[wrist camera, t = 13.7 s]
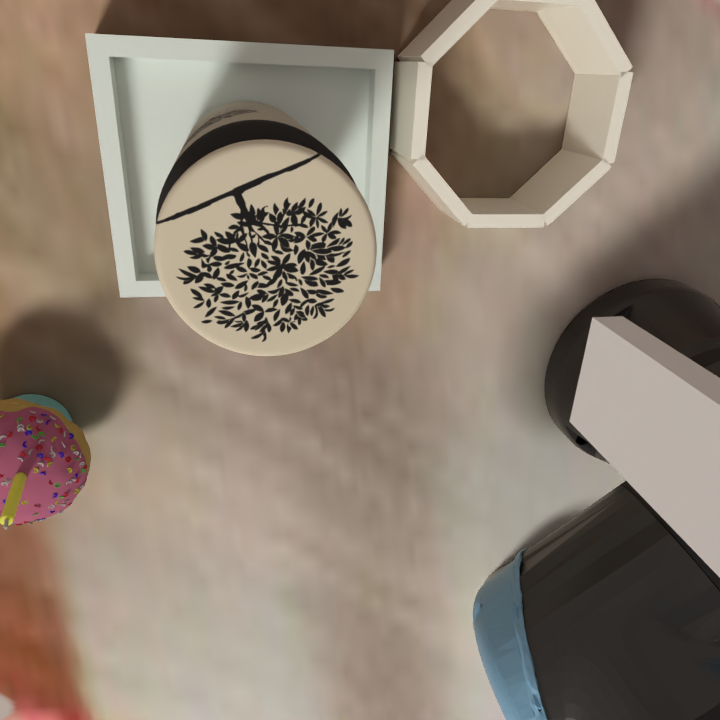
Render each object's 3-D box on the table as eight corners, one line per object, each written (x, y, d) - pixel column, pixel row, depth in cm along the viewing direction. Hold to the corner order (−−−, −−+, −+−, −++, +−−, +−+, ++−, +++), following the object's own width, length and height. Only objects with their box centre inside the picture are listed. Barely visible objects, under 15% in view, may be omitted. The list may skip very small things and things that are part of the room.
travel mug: (330, 220, 39) (403, 330, 23) (206, 252, 38) (193, 389, 22) (298, 85, 35) (358, 105, 19) (161, 119, 34) (105, 167, 18)
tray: (383, 50, 36) (394, 49, 34) (371, 278, 42) (379, 290, 40) (94, 35, 33) (85, 33, 31) (126, 284, 39) (120, 297, 37)
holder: (599, 1, 37) (650, -8, 33) (561, 209, 42) (600, 227, 38) (399, -14, 35) (424, -26, 30) (385, 209, 40) (405, 228, 36)
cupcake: (40, 346, 39) (-27, 450, 29) (129, 434, 43) (99, 554, 33) (-65, 416, 40) (-169, 542, 30) (32, 496, 44) (-29, 634, 33)
